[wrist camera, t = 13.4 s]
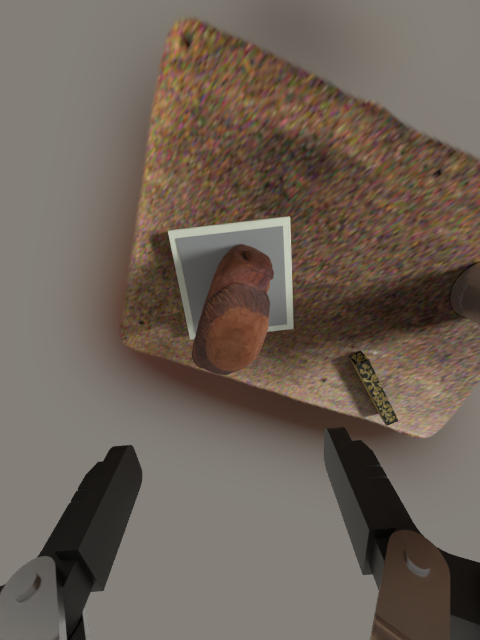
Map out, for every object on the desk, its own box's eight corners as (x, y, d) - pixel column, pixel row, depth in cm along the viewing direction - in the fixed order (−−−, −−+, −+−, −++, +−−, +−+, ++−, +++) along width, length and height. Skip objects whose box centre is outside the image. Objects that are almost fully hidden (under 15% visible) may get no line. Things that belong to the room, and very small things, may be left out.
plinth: (285, 216, 36) (290, 216, 33) (289, 320, 42) (293, 329, 39) (173, 229, 36) (167, 231, 33) (193, 330, 42) (189, 340, 39)
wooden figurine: (243, 326, 38) (249, 411, 22) (203, 313, 38) (175, 392, 21) (272, 249, 34) (306, 283, 18) (227, 233, 33) (217, 253, 17)
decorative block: (389, 408, 50) (399, 421, 46) (377, 413, 50) (387, 427, 47) (360, 349, 44) (370, 359, 41) (347, 355, 45) (356, 366, 42)
